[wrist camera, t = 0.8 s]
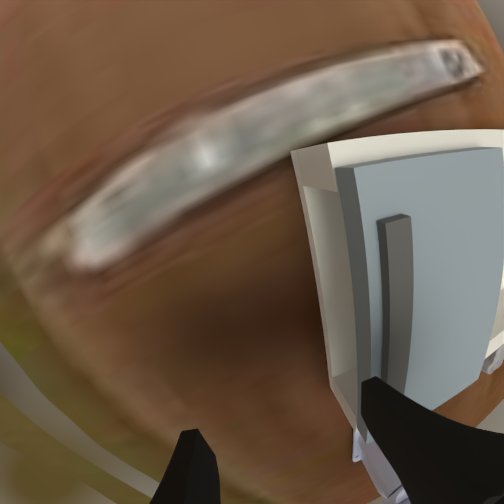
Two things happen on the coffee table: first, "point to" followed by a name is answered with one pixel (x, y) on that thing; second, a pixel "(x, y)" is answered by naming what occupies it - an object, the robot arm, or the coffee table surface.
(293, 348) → the coffee table surface
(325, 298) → the white sliding box
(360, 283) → the slide cover
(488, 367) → the stone block
